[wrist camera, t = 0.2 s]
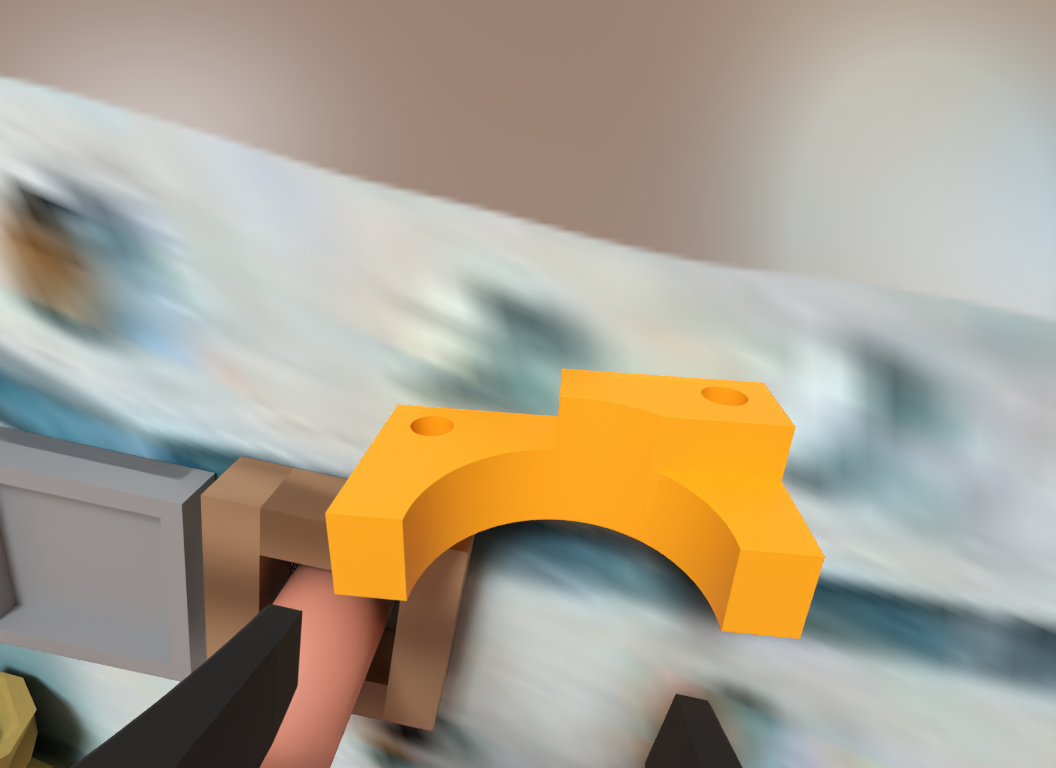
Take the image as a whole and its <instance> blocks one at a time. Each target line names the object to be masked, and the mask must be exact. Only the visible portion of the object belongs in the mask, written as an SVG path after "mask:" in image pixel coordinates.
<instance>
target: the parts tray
mask: <svg viewBox="0 0 1056 768" xmlns="http://www.w3.org/2000/svg"><path fill="white" fill-rule="evenodd" d="M214 482H215V473H213V472H208V471H204V470H199V469H194V468H190V467H185V466H181V465H176V464H171V463H167V462H162V461H157V460H153V459H148V458H144V457H139V456H134V455H130V454H125V453H121V452H116V451H111V450H107V449H102V448H98V447H93V446H88V445H84V444H79V443H75V442H70V441H65V440H61V439H56V438H52V437H47V436H42V435H38V434H33V433H29V432H24V431H19V430H15V429H10V428H5V427H1V426H0V643H5V644H10V645H14V646H19V647H23V648H28V649H33V650H37V651H42V652H47V653H51V654H56V655H61V656H65V657H70V658H74V659H79V660H84V661H88V662H93V663H98V664H102V665H107V666H112V667H116V668H121V669H125V670H130V671H135V672H139V673H144V674H149V675H153V676H158V677H163V678H167V679H172V680H176V681H183V680H184V679H185V678H186V677H187V676H189V675H190V674H191V673H192V672H193V671H195V670H196V669H197V668H198V667H199V666H201V665H202V664H203V663H204V662H205V661H206V660H207V649H206V623H205V597H204V571H203V544H202V518H201V494H202V493H203V492H204V491H205V490H206V489H207V488H208V487H209V486H211V485H212V484H213V483H214Z"/></svg>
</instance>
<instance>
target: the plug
mask: <svg viewBox="0 0 1056 768" xmlns="http://www.w3.org/2000/svg"><path fill="white" fill-rule="evenodd" d="M395 601H396V600H391V599H381V598H370V597H360V596H349V595H339V594H334V585H333V576H332V571H331V570H327V569H322V568H317V567H313V566H308V565H303V564H298V566H297V567H296V569H295V570H294V572H293V573H292V575H291V576H290V578H289V579H288V581H287V582H286V584H285V586H284V587H283V589H282V590H281V592H280V593H279V595H278V596H277V598H276V599H275V601H274V602H273V604H274V605H278V606H283V607H287V608H292V609H296V610H301V611H303V613H302V628H301V644H300V659H299V674H298V687H297V689H296V691H295V694H294V696H293V698H292V701H291V703H290V705H289V708H288V710H287V712H286V715H285V717H284V719H283V722H282V724H281V726H280V728H279V731H278V733H277V735H276V737H275V740H274V742H273V744H272V746H271V748H270V750H269V751H268V753H267V755H266V757H265V759H264V761H263V762H262V764H261V766H260V768H330V766H331V764H332V761H333V759H334V756H335V754H336V751H337V749H338V746H339V744H340V741H341V738H342V736H343V733H344V731H345V728H346V726H347V723H348V721H349V718H350V716H351V713H352V711H353V708H354V705H355V703H356V700H357V698H358V695H359V693H360V690H361V688H362V685H363V683H364V680H365V677H366V675H367V672H368V670H369V667H370V665H371V662H372V660H373V657H374V655H375V652H376V649H377V647H378V644H379V642H380V639H381V637H382V634H383V632H384V629H385V627H386V624H387V621H388V619H389V616H390V614H391V611H392V609H393V606H394V604H395Z"/></svg>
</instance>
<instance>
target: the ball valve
mask: <svg viewBox="0 0 1056 768" xmlns="http://www.w3.org/2000/svg"><path fill="white" fill-rule="evenodd" d="M36 710H37V709H36V707H35V705H34V702H33V700H32V698H31V695H30V693H29V691H28V688H27V686H26V684H25V681H24V679H23V678H22V677H19V676H15V675H11V674H7V673H4V672H0V768H55V767H52V766H50V765H48V764H46V763H44V762H42V761H39V760H37V759H35V758H33V757H32V753H33V749H34V745H35V741H36V737H37V733H38V732H37V726H36V719H35V712H36Z"/></svg>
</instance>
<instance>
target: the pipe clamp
mask: <svg viewBox="0 0 1056 768" xmlns="http://www.w3.org/2000/svg"><path fill="white" fill-rule="evenodd" d="M794 430H795V426H794V424H793V423H792V421H791V420H790V419H789V417H788V416H787V415H786V413H785V412H784V410H783V409H782V408H781V406H780V405H779V404H778V402H777V401H776V399H775V398H774V397H773V395H772V394H771V393H770V391H769V390H768V388H767V387H766V386H765V384H764V383H758V382H744V381H730V380H716V379H701V378H687V377H673V376H659V375H644V374H630V373H616V372H602V371H587V370H573V369H562V375H561V388H560V400H559V414H558V417H557V416H544V415H531V414H518V413H504V412H491V411H478V410H464V409H451V408H438V407H424V406H411V405H398V406H397V407H396V409H395V410H394V412H393V413H392V415H391V416H390V418H389V419H388V420H387V422H386V423H385V425H384V426H383V428H382V429H381V431H380V432H379V434H378V435H377V437H376V438H375V440H374V441H373V443H372V444H371V446H370V447H369V449H368V450H367V452H366V453H365V455H364V456H363V458H362V459H361V461H360V462H359V464H358V465H357V466H356V468H355V469H354V471H353V472H352V474H351V475H350V477H349V478H348V480H347V481H346V483H345V484H344V486H343V487H342V489H341V490H340V492H339V493H338V495H337V496H336V498H335V499H334V501H333V502H332V504H331V505H330V507H329V508H328V510H327V511H326V513H325V517H326V525H327V534H328V542H329V551H330V559H331V568H332V576H333V585H334V594H339V595H349V596H360V597H370V598H381V599H391V600H401V601H407V599H408V597H409V595H410V593H411V590H412V588H413V587H414V585H415V583H416V582H417V580H418V579H419V577H420V576H421V575H422V573H423V572H424V571H425V569H426V568H427V567H428V566H429V565H430V564H431V563H432V562H433V561H434V560H435V559H436V558H437V557H438V556H440V555H441V554H442V553H443V552H445V551H446V550H447V549H449V548H450V547H452V546H453V545H455V544H456V543H458V542H460V541H461V540H463V539H465V538H467V537H469V536H471V535H474V534H476V533H478V532H480V531H483V530H486V529H489V528H492V527H496V526H499V525H503V524H508V523H513V522H518V521H527V520H541V519H554V520H569V521H577V522H584V523H589V524H593V525H598V526H602V527H605V528H609V529H612V530H615V531H618V532H620V533H623V534H626V535H628V536H630V537H633V538H635V539H637V540H639V541H641V542H643V543H645V544H647V545H649V546H650V547H652V548H654V549H655V550H657V551H658V552H660V553H662V554H663V555H664V556H666V557H667V558H668V559H670V560H671V561H672V562H674V563H675V564H676V565H677V566H678V567H680V568H681V569H682V570H683V571H684V572H685V573H686V574H687V575H688V576H689V577H690V578H691V579H692V580H693V581H694V582H695V584H696V585H697V586H698V588H699V589H700V590H701V591H702V593H703V594H704V596H705V597H706V599H707V600H708V602H709V604H710V605H711V607H712V609H713V611H714V613H715V615H716V617H717V620H718V623H719V626H720V629H721V631H724V632H734V633H744V634H755V635H765V636H776V637H786V638H796V639H800V636H801V633H802V630H803V626H804V623H805V620H806V617H807V613H808V610H809V607H810V604H811V600H812V597H813V594H814V591H815V587H816V584H817V581H818V578H819V574H820V571H821V568H822V565H823V561H824V558H825V556H824V555H823V553H822V551H821V549H820V548H819V546H818V544H817V542H816V541H815V539H814V537H813V535H812V534H811V532H810V530H809V528H808V527H807V525H806V523H805V521H804V520H803V518H802V516H801V514H800V513H799V511H798V509H797V507H796V506H795V504H794V502H793V501H792V499H791V497H790V495H789V494H788V492H787V490H786V488H785V487H784V485H783V483H782V477H783V473H784V469H785V465H786V462H787V458H788V454H789V450H790V446H791V442H792V438H793V434H794Z"/></svg>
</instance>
